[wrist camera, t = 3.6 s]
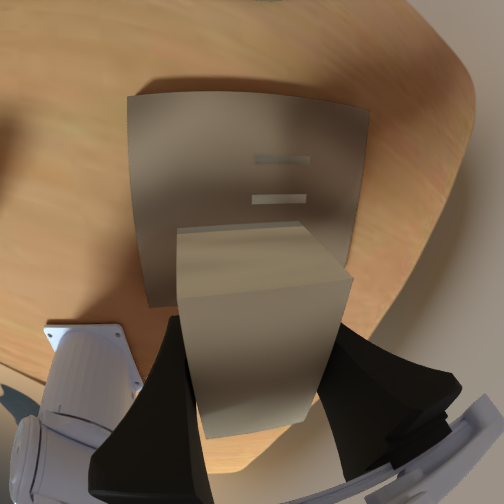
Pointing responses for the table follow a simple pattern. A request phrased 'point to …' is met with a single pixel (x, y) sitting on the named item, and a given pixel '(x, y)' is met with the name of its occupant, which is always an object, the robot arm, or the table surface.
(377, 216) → the table surface
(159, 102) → the grey flat square block
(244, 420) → the block
